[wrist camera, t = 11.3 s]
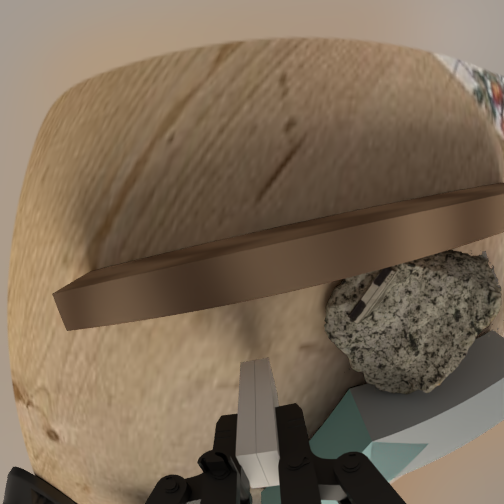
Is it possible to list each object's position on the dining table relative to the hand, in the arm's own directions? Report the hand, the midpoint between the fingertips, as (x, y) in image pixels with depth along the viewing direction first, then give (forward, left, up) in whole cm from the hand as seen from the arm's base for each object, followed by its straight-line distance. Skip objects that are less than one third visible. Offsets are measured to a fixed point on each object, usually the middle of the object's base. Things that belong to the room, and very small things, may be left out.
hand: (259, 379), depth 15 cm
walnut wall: (+5, +7, -2) cm, 9 cm away
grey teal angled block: (+8, -11, -1) cm, 13 cm away
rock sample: (+8, +1, -2) cm, 9 cm away
